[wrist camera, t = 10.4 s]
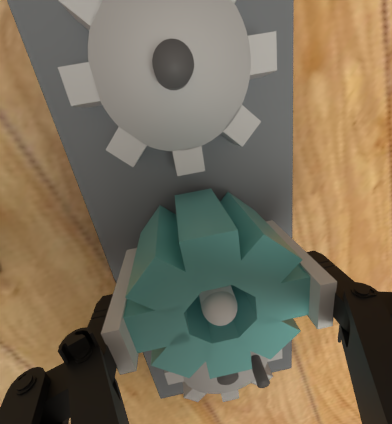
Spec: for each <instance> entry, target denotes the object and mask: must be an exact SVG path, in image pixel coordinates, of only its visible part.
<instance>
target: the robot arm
mask: <svg viewBox="0 0 392 424" xmlns="http://www.w3.org/2000/svg"><path fill="white" fill-rule="evenodd" d="M266 222H267V223H268V224H269V226H270V227H271V228H272V229H273V230H274V231H275V232H276V233H277V234H278V235H279V236H280V237H281V238H282V239H283V240H284V241H285V242H286V243H287V244H288V245H289V246H290V247H291V248H292V249H293V250H294V251H295V252H296V253H297V254H298V255H299V256H300V257H301V258H302V259H303V260H302V261H301V262H300V263H299V265H300V266H301V267H302V268H303V269H304V270H305V271H306V273H307V274H308V275H309V276H310V299H309V315H308V317H309V318H310V320H311V321H312V322H313V324H314V325H315V326H316V328H317V329H321V328H326V327H330V326H333V317H334V318H335V319H336V320H337V322H338V323H339V324H340V325H339V333H338V342H340V343H341V340H342V344H343V348H344V352H345V356H346V360H347V364H348V368H349V372H350V376H351V380H352V384H353V388H354V392H355V396H356V400H357V404H358V409H359V413H360V417H361V421H362V424H392V292H378V291H377V290H375V289H374V288H372V287H371V286H369V285H366V284H363V283H358V282H354V281H353V280H352V279H351V278H349V277H348V276H347V275H346V274H345V273H344V272H342V271H341V270H340V269H339V268H338V267H337V266H335V265H334V264H333V263H332V262H331V261H330V260H329V259H327V258H326V257H325V256H324V255H322V254H320V253H318V252H316V251H310V252H305V251H304V250H303V249H302V248H301V247H300V246H299V245H298V244H297V243H296V242H295V241H294V240H293V239H292V238H291V237H290V236H289V235H288V234H286V233H285V232H284V231H283V230H282V229H281V228H280V227H279V226H278V225H277V224H276V223H275V222H274V221H273V220H271V221H266ZM136 250H137V248H134V249H129V250H127V251H126V254H125V258H124V261H123V264H122V267H121V270H120V274H119V277H118V280H117V283H116V286H115V290H114V293H113V294H111V295H107V296H103V297H102V298H101V299H100V300H99V302H98V303H97V304H96V307H95V309H94V313H93V314H92V317H91V320H90V322H89V325H88V327H87V328H80V329H77V330H75V331H73V332H72V333H70V334H69V335H67V336H66V338H65V339H64V340H63V341H62V342H61V344H60V346H59V349H58V352H59V354H60V356H61V357H62V359H63V361H64V363H63V364H61V365H59V366H57V367H55V368H53V369H51V370H49V371H47V372H45V371H44V369H43V368H41V367H35V368H31V369H29V370H28V371H26V372H24V373H23V374H22V375H20V376H19V377H18V378H17V379H16V380H15V381H14V382H13V383H12V384H11V386H10V387H9V389H8V391H7V393H6V395H5V398H4V400H3V403H2V405H1V407H0V424H68V423H69V418H70V417H71V424H129V421H128V418H127V415H126V411H125V408H124V404H123V401H122V397H121V394H120V390H119V387H118V384H117V381H116V379H115V373H116V368H117V369H118V371H119V373H120V375H121V374H125V373H130V372H134V371H136V370H137V362H138V354H139V353H137V351H136V348H135V346H134V343H133V341H132V338H131V336H130V333H129V331H128V328H127V326H126V323H125V321H124V319H123V316H124V312H125V307H126V303H127V298H125V296H126V292H127V288H128V283H129V279H130V275H131V271H132V267H133V263H134V258H135V254H136Z"/></svg>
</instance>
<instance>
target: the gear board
mask: <svg viewBox="0 0 392 424" xmlns="http://www.w3.org/2000/svg"><path fill="white" fill-rule="evenodd" d="M7 1H8V4H9V7H10V9H11V12H12V14H13V17H14V20H15V22H16V25H17V27H18V30H19V33H20V35H21V38H22V40H23V43H24V45H25V48H26V51H27V53H28V56H29V58H30V61H31V64H32V66H33V69H34V71H35V74H36V77H37V79H38V82H39V84H40V87H41V90H42V92H43V95H44V97H45V100H46V103H47V105H48V108H49V110H50V113H51V116H52V118H53V121H54V123H55V126H56V128H57V131H58V134H59V136H60V139H61V141H62V144H63V147H64V149H65V152H66V154H67V157H68V160H69V162H70V165H71V167H72V170H73V173H74V175H75V178H76V180H77V183H78V186H79V188H80V191H81V193H82V196H83V198H84V201H85V204H86V206H87V209H88V211H89V214H90V217H91V219H92V222H93V224H94V227H95V230H96V232H97V235H98V237H99V240H100V243H101V245H102V248H103V250H104V253H105V256H106V258H107V261H108V263H109V266H110V268H111V271H112V274H113V276H114V279H115V281H116V283H117V280H118V277H119V274H120V270H121V267H122V264H123V261H124V258H125V254H126V251H127V250H129V249H134V248H137V246H138V242H139V238H140V233H141V232H142V230H143V229H144V227H145V226H146V224H147V223H148V221H149V220H150V219H151V217H152V216H153V214H154V213H155V211H156V210H157V208H158V207H159V205H161V206H162V207H164V208H166V209H167V210H169V211H171V212H172V213H174V214H176V205H175V195H179V194H185V193H190V192H195V191H200V190H205V189H210V188H211V189H212V190H213V192H214V194H215V195H216V197H217V198H218V200H219V201H221V200H222V199H223V197H224V196H225V195H226V193H227V192H229V193H231V194H232V195H233V196H235V197H236V198H238V199H239V200H241V201H242V202H244V203H245V204H246V205H248V206H249V207H251V208H252V209H254V210H255V211H256V212H257V213H258V214H259V215H260V216H261V217H262V218H263V219H264V220H265V221H271V220H273V221H274V222H275V223H276V224H277V225H278V226H279V227H280V228H281V229H282V230H283V231H284V232H285V233H286V234H288V235H289V236H290V237H291V238H292V170H293V0H7ZM199 297H200V303H201V309H202V312H203V315H204V317H205V318H206V319H207V320H208V321H209V322H210V323H212V324H214V325H217V326H223V325H227V324H228V323H230V322H231V321H232V320H233V319H234V318H235V316H236V313H237V308H238V307H237V301H236V298H235V295H234V293H233V290H232V287H231V285H230V286H226V287H221V288H217V289H212V290H207V291H203V292H201V293H200V294H199ZM250 352H251V351H250ZM143 354H144V357H145V359H146V362H147V364H148V367H149V370H150V372H151V375H152V377H153V380H154V383H155V385H156V388H157V390H158V393H159V396H160V398H161V399H162V398H166V397H170V396H174V395H179V394H184V398H186V399H190V400H193V401H196V402H199V401H200V400H201V399H202V398H203V397H204V396H205V395H206V394H207V393H209V394H220V393H221V395H222V400H223V402H225V401H230V400H234V399H238V398H239V393H238V389H240V388H242V387H245V386H246V385H248V384H250V383H253V384H255V385H257V386H258V387H259V388H265V387H267V386H268V385H269V384H270V381H269V380H270V379H271V378H272V377H273V375H272V372H276V371H280V370H285V369H289V368H291V356H292V340H291V341H290V342H289V343H288V344H287V345H286V346H284V347H283V348H282V349H281V350H280V351H279V352H278V353H277V354H276V355H275V356H274V357H273V358H272V359H271V360H270V359H268V358H266V357H263V356H261V355H259V354H256V353H254V352H251V362H252V369H250V370H246V371H242V372H238V373H233V374H229V375H225V376H221V377H216V378H212V379H210V377H209V373H208V369H207V364H206V362H205V363H204V364H203V365H202V366H201V367H200V368H199V369H198V370H197V371H196V372H195V373H194V374H193V375H192V376H191V377H190V378H186V377H184V376H181V375H178V374H175V373H172V372H169V371H166V370H163V369H160V368H157V367H154V366H151V354H152V350H150V351H145V352H143Z"/></svg>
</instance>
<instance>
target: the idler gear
mask: <svg viewBox="0 0 392 424" xmlns="http://www.w3.org/2000/svg"><path fill="white" fill-rule="evenodd" d="M175 205H176V214H174V213H172V212H171V211H169V210H167V209H166V208H164V207H162V206H161V205H159V207H158V208H157V210H156V211H155V213H154V214H153V216H152V217H151V219H150V220H149V221H148V223H147V224H146V226H145V227H144V229H143V230H142V232H141V233H140V238H139V242H138V246H137V250H136V254H135V258H134V263H133V267H132V271H131V275H130V279H129V283H128V288H127V292H126V296H125V298H127V303H126V307H125V312H124V316H123V319H124V321H125V323H126V326H127V328H128V331H129V333H130V336H131V338H132V341H133V343H134V346H135V348H136V351H137V353H141V352H145V351H150V350H152V354H151V366H154V367H157V368H160V369H163V370H166V371H169V372H172V373H175V374H178V375H181V376H184V377H186V378H190V377H191V376H192V375H193V374H194V373H195V372H196V371H197V370H198V369H199V368H200V367H201V366H202V365H203V364H204V363H205V362H206V364H207V369H208V373H209V377H210V379H212V378H216V377H221V376H225V375H229V374H233V373H238V372H242V371H246V370H250V369H252V362H251V352H254V353H256V354H259V355H261V356H263V357H266V358H268V359H270V360H271V359H272V358H273V357H274V356H275V355H276V354H277V353H278V352H279V351H280V350H281V349H282V348H283V347H284V346H286V345H287V344H288V343H289V342H290V341H291V340H292V339H293V338H294V337H295V336H296V335H297V334H298V333H299V332H300V329H299V328H298V326H297V324H296V323H295V321H294V320H293V318H296V317H301V316H305V315H309V299H310V276H309V275H308V274H307V273H306V271H305V270H304V269H303V268H302V267H301V266H300V265H299V263H300V262H301V261H302V260H303V259H302V258H301V257H300V256H299V255H298V254H297V253H296V252H295V251H294V250H293V249H292V248H291V247H290V246H289V245H288V244H287V243H286V242H285V241H284V240H283V239H282V238H281V237H280V236H279V235H278V234H277V233H276V232H275V231H274V230H273V229H272V228H271V227H270V226H269V224H268V223H267V222H266V221H265V220H264V219H263V218H262V217H261V216H260V215H259V214H258V213H257V212H256V211H255V210H254V209H252V208H251V207H249V206H248V205H246V204H245V203H244V202H242V201H241V200H239V199H238V198H236V197H235V196H233V195H232V194H231V193H229V192H227V193H226V195H225V196H224V197H223V199H222V200H221V201H219V200H218V198H217V197H216V195H215V194H214V192H213V190H212V189H211V188H210V189H205V190H200V191H195V192H190V193H185V194H179V195H175ZM230 285H231V287H232V290H233V293H234V295H235V298H236V301H237V307H238V308H237V313H236V316H235V318H234V319H233V320H232V321H231V322H230V323H228V324H227V325H223V326H217V325H214V324H212V323H210V322H209V321H208V320H207V319H206V318H205V317H204V315H203V312H202V309H201V303H200V297H199V294H200V293H201V292H203V291H207V290H212V289H217V288H221V287H226V286H230ZM250 351H251V352H250Z"/></svg>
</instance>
